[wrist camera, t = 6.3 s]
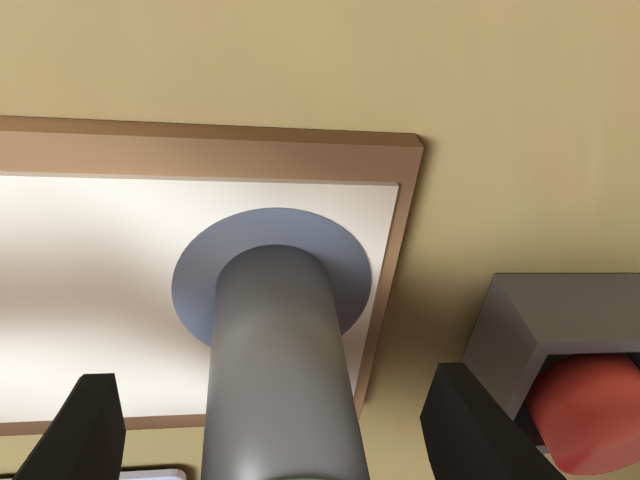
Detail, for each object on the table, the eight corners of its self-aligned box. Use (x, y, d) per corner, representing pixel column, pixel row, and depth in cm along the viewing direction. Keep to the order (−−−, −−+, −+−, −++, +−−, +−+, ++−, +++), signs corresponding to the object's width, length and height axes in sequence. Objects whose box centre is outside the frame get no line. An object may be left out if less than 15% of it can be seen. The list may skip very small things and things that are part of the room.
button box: (583, 380, 21) (628, 448, 18) (451, 385, 20) (481, 457, 17) (647, 273, 18) (712, 338, 15) (494, 273, 17) (537, 342, 14)
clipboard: (355, 400, 20) (363, 438, 18) (-80, 419, 17) (-105, 463, 16) (415, 134, 13) (433, 162, 12) (-259, 104, 11) (-325, 136, 10)
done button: (605, 417, 18) (640, 471, 16) (510, 423, 18) (537, 479, 16) (653, 347, 16) (699, 401, 14) (547, 350, 15) (582, 406, 14)
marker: (325, 332, 16) (380, 657, 9) (214, 333, 15) (189, 678, 9) (338, 243, 14) (420, 573, 7) (212, 241, 13) (178, 594, 7)
